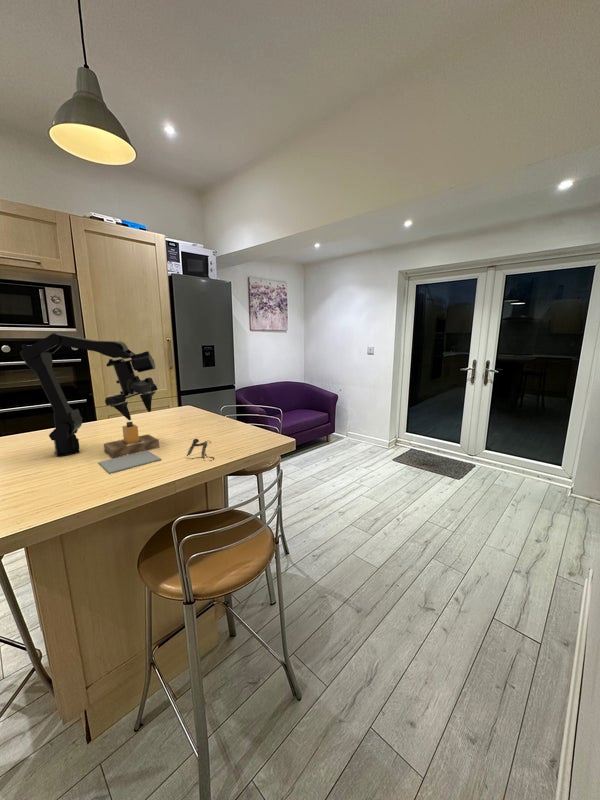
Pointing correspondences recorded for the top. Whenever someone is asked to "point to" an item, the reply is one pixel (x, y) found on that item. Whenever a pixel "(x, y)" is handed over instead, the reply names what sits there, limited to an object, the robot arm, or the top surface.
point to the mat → (128, 461)
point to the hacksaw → (202, 449)
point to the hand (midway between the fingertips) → (140, 415)
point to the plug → (130, 433)
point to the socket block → (130, 446)
